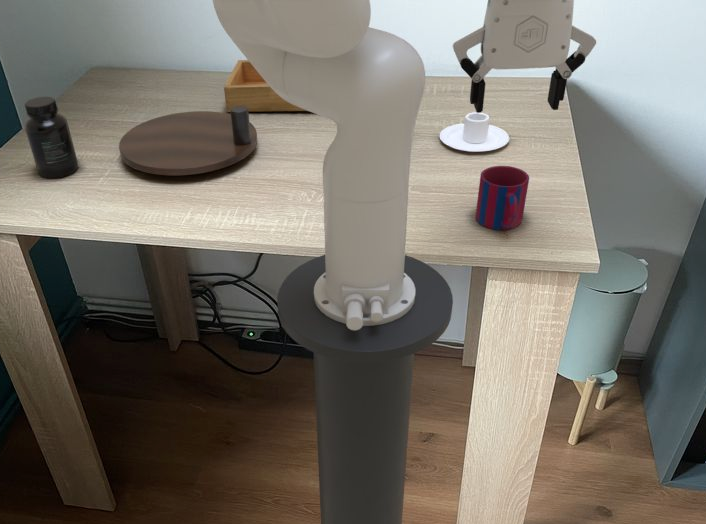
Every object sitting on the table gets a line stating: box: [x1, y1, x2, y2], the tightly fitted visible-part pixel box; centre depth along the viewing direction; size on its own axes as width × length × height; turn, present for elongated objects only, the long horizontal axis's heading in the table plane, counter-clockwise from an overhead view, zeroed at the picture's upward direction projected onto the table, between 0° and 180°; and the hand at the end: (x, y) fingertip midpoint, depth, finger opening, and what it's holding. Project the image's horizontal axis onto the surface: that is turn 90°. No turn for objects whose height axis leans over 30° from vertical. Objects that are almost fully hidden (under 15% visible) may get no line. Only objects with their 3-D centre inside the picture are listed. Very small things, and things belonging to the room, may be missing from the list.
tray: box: [223, 59, 308, 113], centre depth 144 cm, size 31×15×6 cm, turn 84°
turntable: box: [118, 105, 258, 176], centre depth 125 cm, size 24×24×7 cm
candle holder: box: [439, 111, 510, 153], centre depth 127 cm, size 12×12×4 cm
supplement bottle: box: [24, 95, 79, 179], centre depth 122 cm, size 7×7×12 cm
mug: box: [475, 165, 530, 231], centre depth 104 cm, size 7×10×7 cm
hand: (515, 107), depth 95 cm, fingers open, 9 cm apart
